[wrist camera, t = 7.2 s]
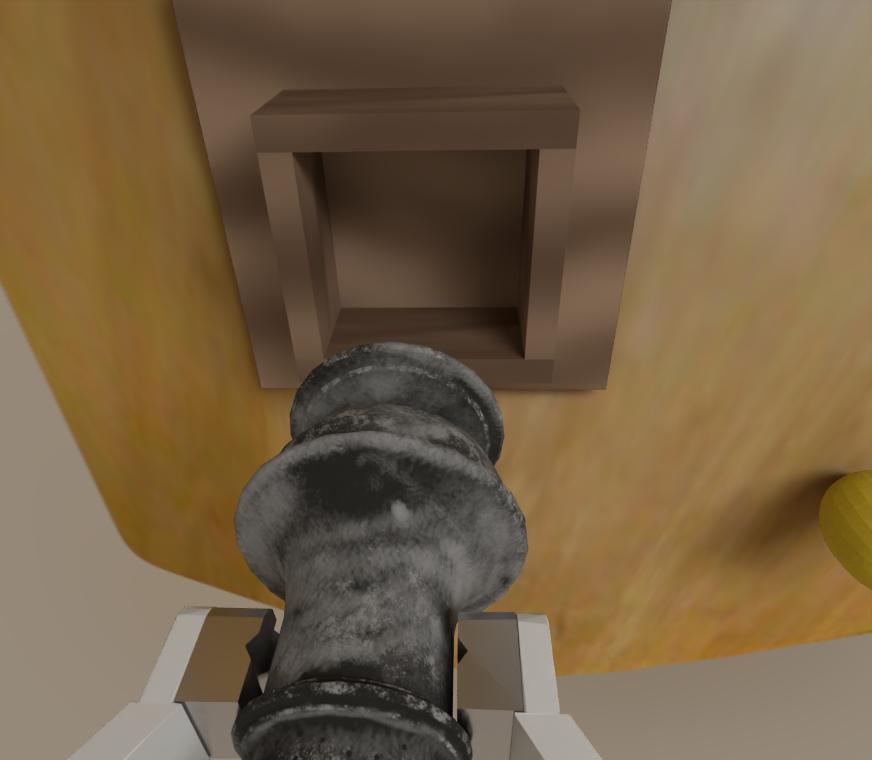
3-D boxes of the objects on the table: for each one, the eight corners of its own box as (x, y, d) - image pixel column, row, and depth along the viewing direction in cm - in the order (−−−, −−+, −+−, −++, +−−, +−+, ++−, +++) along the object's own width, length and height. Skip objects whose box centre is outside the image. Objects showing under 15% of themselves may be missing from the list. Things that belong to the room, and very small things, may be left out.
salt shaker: (406, 543, 18) (331, 1293, 8) (232, 431, 15) (-177, 1281, 6) (565, 433, 15) (756, 1352, 5) (384, 280, 13) (118, 1375, 3)
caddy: (178, -19, 23) (107, -11, 18) (669, -32, 22) (721, -28, 17) (266, 377, 33) (235, 444, 29) (602, 378, 32) (624, 447, 28)
